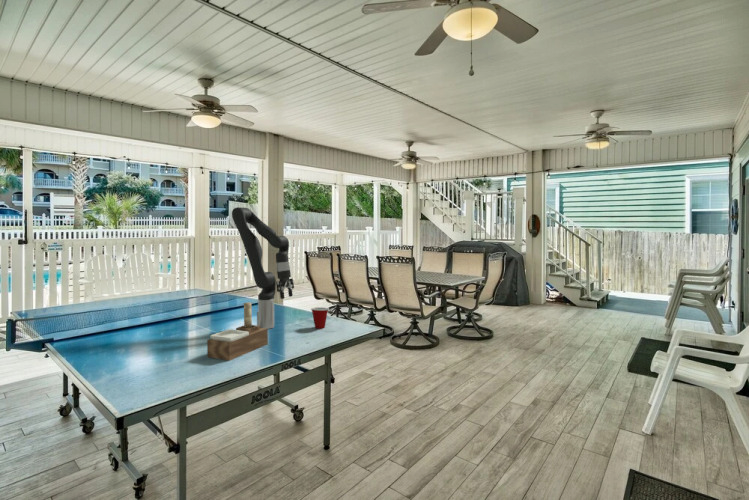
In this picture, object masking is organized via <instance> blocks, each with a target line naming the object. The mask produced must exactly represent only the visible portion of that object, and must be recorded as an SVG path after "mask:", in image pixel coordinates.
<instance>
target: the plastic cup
mask: <svg viewBox="0 0 749 500" xmlns="http://www.w3.org/2000/svg"><path fill="white" fill-rule="evenodd" d="M310 310H311V313H312V317H313V324H314V328H315V329H317V330H321V329H325V328H326V322H327V317H328V312H329V310H330V308H328V307H321V306H320V307H318V306H316V307H315V306H314V307H310Z"/></svg>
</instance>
